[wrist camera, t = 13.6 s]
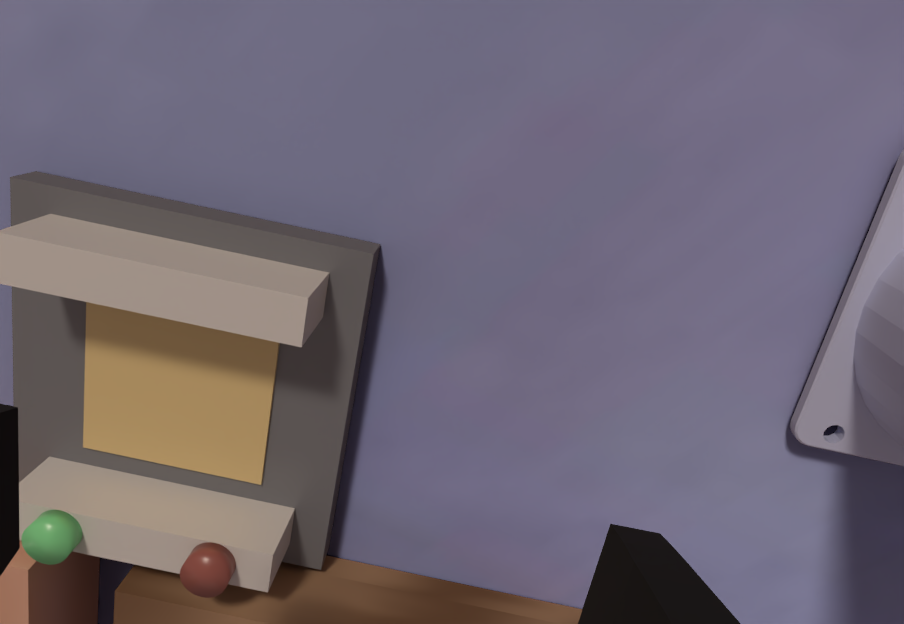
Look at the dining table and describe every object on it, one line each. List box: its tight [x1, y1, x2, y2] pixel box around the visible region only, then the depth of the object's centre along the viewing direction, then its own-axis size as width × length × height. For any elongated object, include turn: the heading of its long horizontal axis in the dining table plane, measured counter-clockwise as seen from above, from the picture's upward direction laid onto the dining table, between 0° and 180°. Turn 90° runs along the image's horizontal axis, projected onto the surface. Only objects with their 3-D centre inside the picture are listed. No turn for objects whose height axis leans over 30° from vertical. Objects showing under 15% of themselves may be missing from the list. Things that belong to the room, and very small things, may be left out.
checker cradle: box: [0, 171, 380, 598], centre depth 18 cm, size 9×10×4 cm
